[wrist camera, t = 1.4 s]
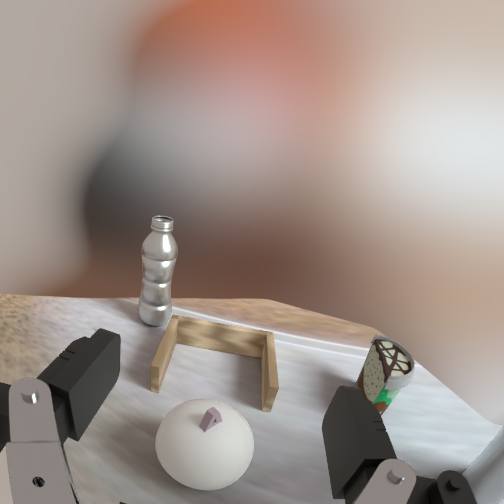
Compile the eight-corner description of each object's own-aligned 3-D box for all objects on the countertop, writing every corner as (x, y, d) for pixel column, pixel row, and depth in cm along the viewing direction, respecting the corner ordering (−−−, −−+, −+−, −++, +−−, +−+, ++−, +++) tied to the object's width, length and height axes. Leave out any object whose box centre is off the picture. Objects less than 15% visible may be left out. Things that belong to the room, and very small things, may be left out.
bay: (267, 354, 55) (273, 332, 54) (270, 411, 42) (278, 388, 40) (170, 337, 54) (172, 314, 53) (150, 391, 41) (150, 365, 39)
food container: (397, 429, 40) (427, 382, 37) (362, 426, 41) (390, 378, 37) (384, 382, 52) (406, 338, 49) (355, 377, 52) (375, 332, 49)
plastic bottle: (165, 310, 62) (175, 214, 56) (175, 329, 57) (186, 225, 51) (135, 312, 59) (141, 212, 53) (141, 331, 54) (147, 224, 47)
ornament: (224, 516, 24) (244, 466, 21) (140, 476, 27) (133, 413, 23) (255, 455, 34) (279, 392, 30) (182, 424, 36) (189, 357, 33)
